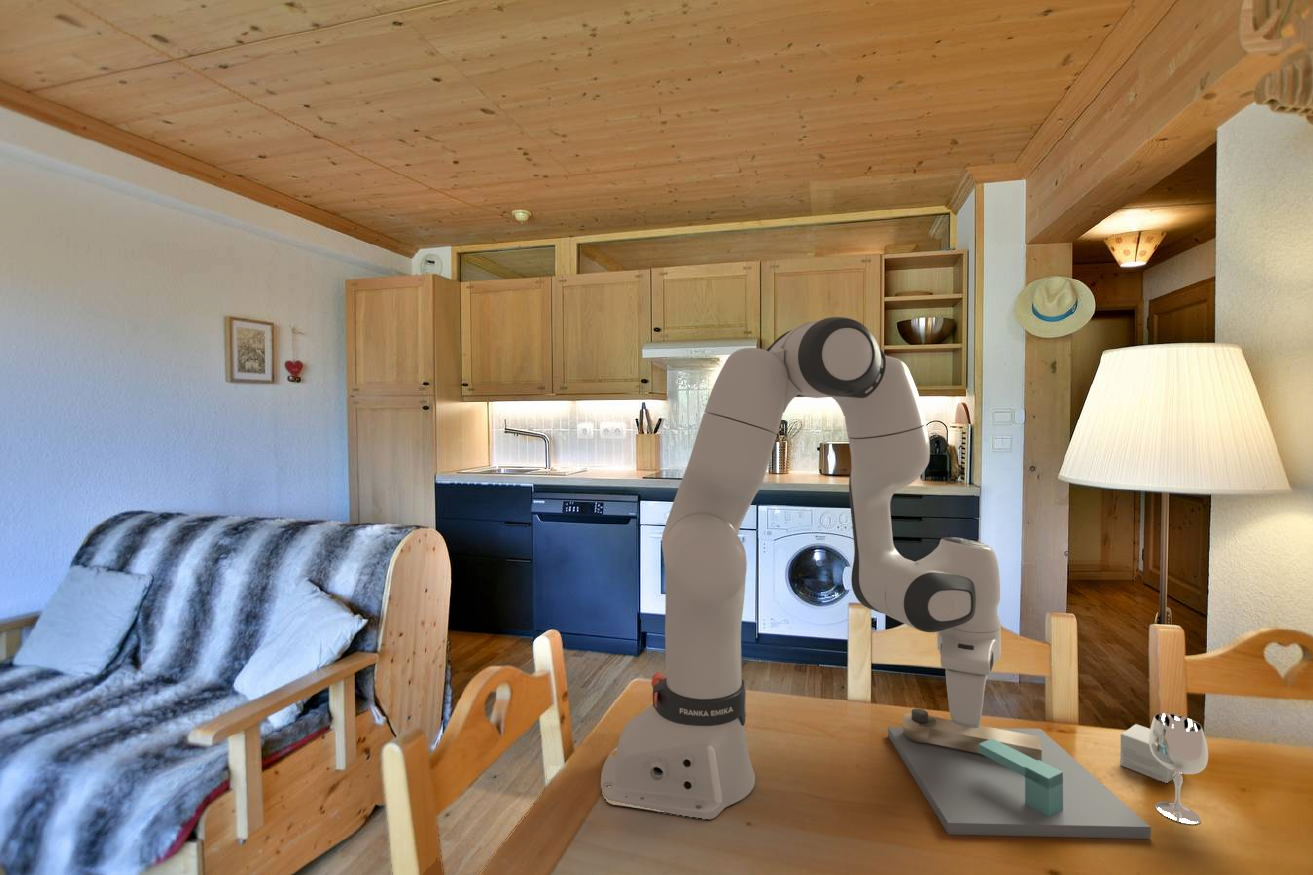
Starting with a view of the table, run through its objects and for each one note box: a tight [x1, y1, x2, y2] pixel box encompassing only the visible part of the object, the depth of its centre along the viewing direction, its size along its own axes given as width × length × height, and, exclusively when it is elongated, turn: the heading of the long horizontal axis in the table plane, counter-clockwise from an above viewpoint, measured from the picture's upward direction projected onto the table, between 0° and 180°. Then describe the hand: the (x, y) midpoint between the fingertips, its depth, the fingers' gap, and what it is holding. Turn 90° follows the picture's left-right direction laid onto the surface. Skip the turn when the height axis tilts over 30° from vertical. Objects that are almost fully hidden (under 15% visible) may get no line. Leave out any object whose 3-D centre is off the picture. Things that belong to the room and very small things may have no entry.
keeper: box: [978, 739, 1063, 817], centre depth 79 cm, size 10×3×5 cm, turn 26°
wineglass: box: [1149, 712, 1209, 826], centre depth 76 cm, size 6×6×12 cm
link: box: [903, 708, 1042, 761], centre depth 90 cm, size 18×5×4 cm, turn 63°
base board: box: [887, 726, 1152, 840], centre depth 84 cm, size 24×23×2 cm
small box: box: [1119, 723, 1174, 784], centre depth 86 cm, size 6×6×5 cm
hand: (969, 727), depth 93 cm, fingers closed
